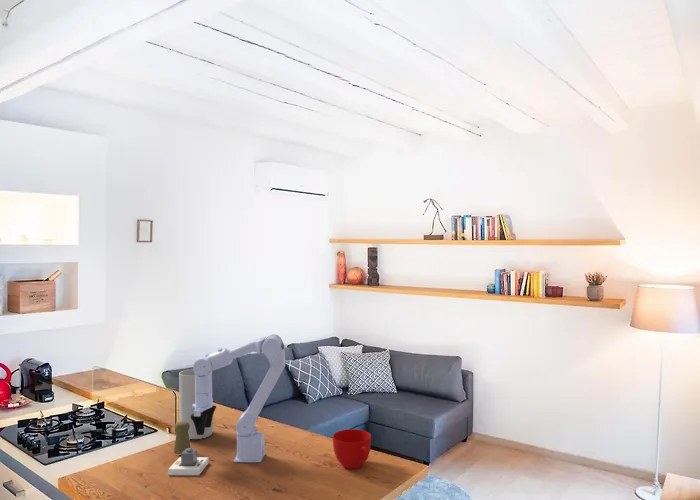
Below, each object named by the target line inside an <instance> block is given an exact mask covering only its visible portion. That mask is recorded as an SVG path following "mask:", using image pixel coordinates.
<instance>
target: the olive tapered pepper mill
mask: <svg viewBox="0 0 700 500" xmlns="http://www.w3.org/2000/svg"><path fill="white" fill-rule="evenodd" d="M189 428H190V425H189V423H188V422H186V421H181V422H180V421H178V422H176V423H175V424H174V432H175V433H176V434H175V442H174V447H173V448H174V449H173V454H174V453H175V454H181V453H182V452H183V451H184V450H185V449H187V448H192V447H191V440H189V433H188V430H189Z"/></svg>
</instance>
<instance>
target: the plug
mask: <svg viewBox="0 0 700 500" xmlns="http://www.w3.org/2000/svg"><path fill="white" fill-rule="evenodd" d="M180 457H181V466H195V465H196V463H197V457H198V449H197V448H192V447H191V448H187V449H185V450H184V451H183V452H182V453H181V456H180Z"/></svg>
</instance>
